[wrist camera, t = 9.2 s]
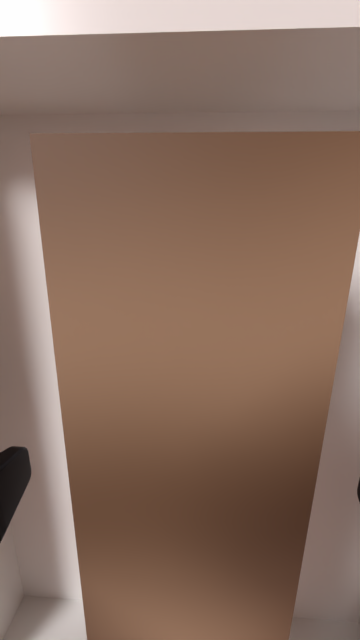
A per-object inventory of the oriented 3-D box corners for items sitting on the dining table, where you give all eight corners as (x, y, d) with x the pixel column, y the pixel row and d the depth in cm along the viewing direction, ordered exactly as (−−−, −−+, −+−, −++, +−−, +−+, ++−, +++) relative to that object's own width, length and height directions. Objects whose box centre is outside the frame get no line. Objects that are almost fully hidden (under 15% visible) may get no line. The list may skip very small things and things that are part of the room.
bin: (508, 79, 8) (831, -83, 4) (365, 611, 13) (434, 766, 9) (-80, 89, 8) (-313, -35, 5) (18, 583, 14) (-50, 715, 10)
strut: (237, 585, 12) (264, 828, 7) (138, 578, 12) (98, 808, 7) (273, 196, 8) (397, 131, 3) (124, 196, 8) (10, 134, 3)
